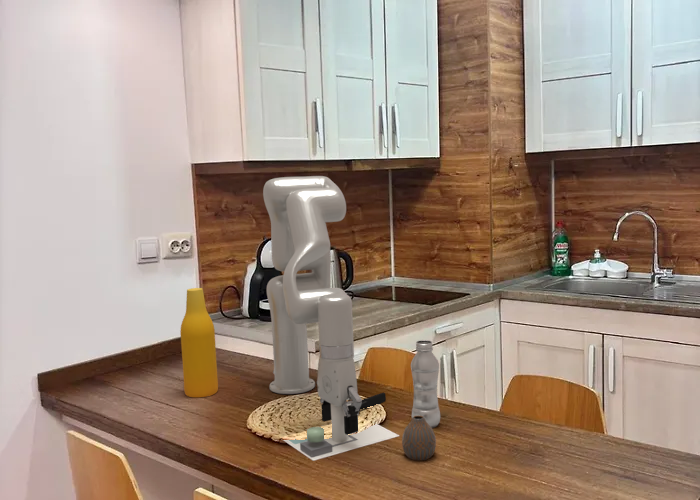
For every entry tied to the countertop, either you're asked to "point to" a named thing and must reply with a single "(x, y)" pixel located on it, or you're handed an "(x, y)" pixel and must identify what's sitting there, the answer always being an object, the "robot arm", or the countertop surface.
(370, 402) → the electric trimmer
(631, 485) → the countertop surface
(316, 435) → the button
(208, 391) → the beer bottle
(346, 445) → the sheet
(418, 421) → the vase
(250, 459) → the countertop surface
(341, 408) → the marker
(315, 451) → the button housing
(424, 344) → the plastic bottle
